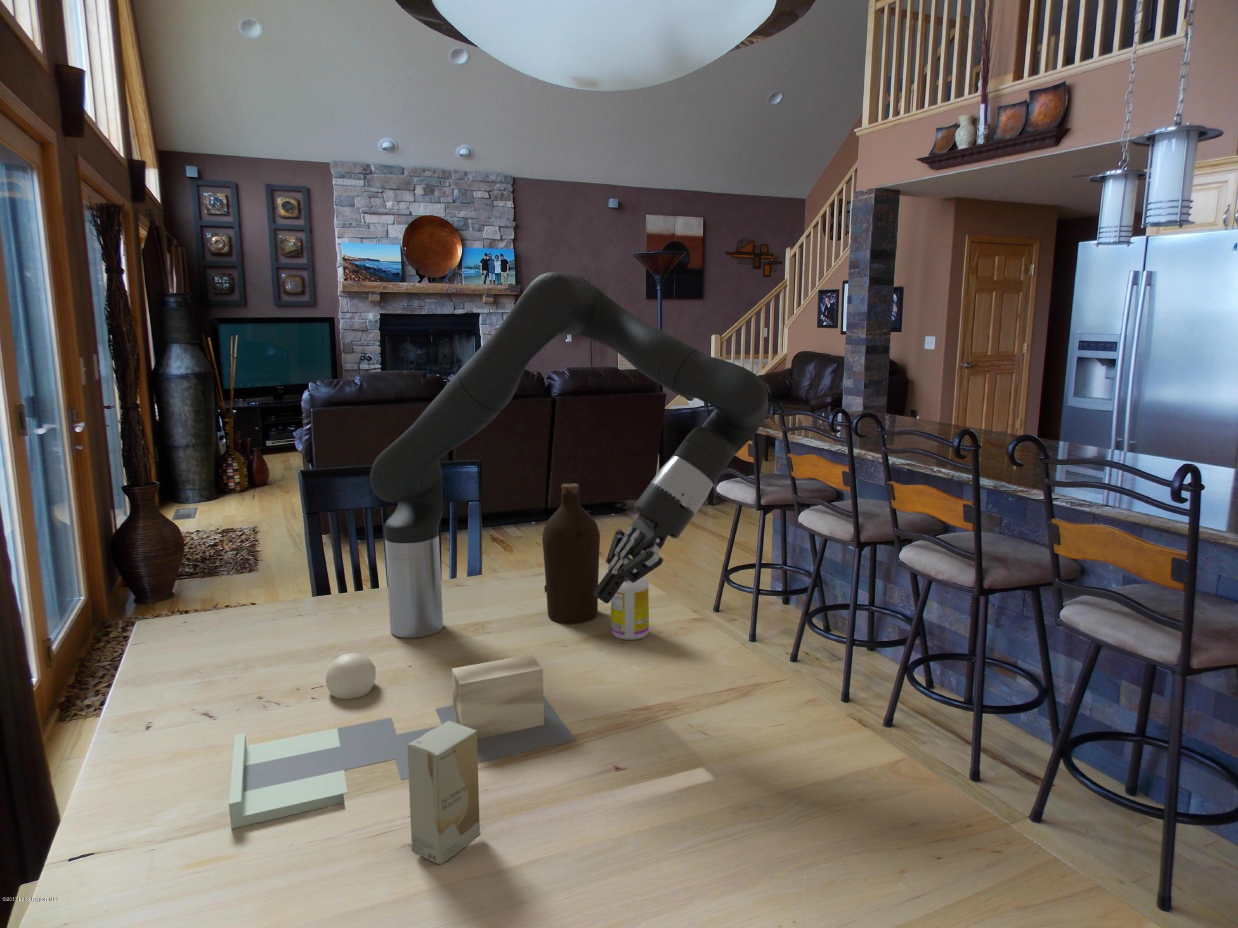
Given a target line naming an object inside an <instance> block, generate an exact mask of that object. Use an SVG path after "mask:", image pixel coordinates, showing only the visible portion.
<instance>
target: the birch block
mask: <svg viewBox="0 0 1238 928" xmlns="http://www.w3.org/2000/svg"><path fill="white" fill-rule="evenodd" d="M543 670H544V668H543V667H542V666H541V665H540V663H539V662H538V661H537V659H535V657H534V656H533V654H527V655H520V656H516V657H510V658H504V659H499V660H492V661H487V662H482V663H476V664H470V665H465V666H459V667H453V668H451V684H452V703H453V704H452V705H453V707H454V722H455V723H458V724H460V725H463V726H466V727H469V728H471V729H474V730H477V739H480V738H485V737H490V736H494V735H499V734H503V733H508V732H513V731H517V730H522V729H527V728H531V727H536V726H541V725H544V700H543V696H544V673H543V672H544V671H543Z"/></svg>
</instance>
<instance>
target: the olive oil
mask: <svg viewBox="0 0 1238 928" xmlns="http://www.w3.org/2000/svg"><path fill="white" fill-rule="evenodd" d="M579 488H580V484H578V483H575V482H574V483H573V482H571V483H569V482H566V483H563V484H561V492H560V497H561V505H560V506H559V507H558V508H557V509H556V511H555V512H553V514H552V515H551V516H550V518H549V519H547V521H546V522H545V524H544V527H543V530H542V531H543V532H542V535H541V536H542V538H541V539H542V551H543V563H544V574H545V575H544V576H545V577H544V579H545V585H544V593H545V594H546V607H547V608H546V609H547V616H548V618H549V619H550V620H552V621H554V622H556V623H561V624H580V623H581V624H582V623H586V622H590V621H592V620H593V619H595V618H596V617H597V616H598V614H599V613H598V609H599V608H598V607H599V605H598V604H599V601H598V600H599V598H597V597H596V596H595V595H594V590H595V589H596V587H597V586H598V585H599V570H600V567H599V566H600V550H601V549H600V546H601V545H600V544H601V543H600V542H601V534H600V529H599V526H598V524H597V522H596V520H595V519H594V518H593V517H592V515H591V514H589V513H588V512H587V510H586V509H584V508H583V506H582V505H581V503H580V502H581V501H580V500H581V499H580V491H579Z"/></svg>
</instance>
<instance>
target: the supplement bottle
mask: <svg viewBox="0 0 1238 928" xmlns="http://www.w3.org/2000/svg"><path fill="white" fill-rule="evenodd" d="M636 572H637V571H636ZM649 598H650V597H649V580H648V579H647V578H646V576H643V577H642V578H640V579H639V580H637V581H636V582H634V583H632V582H631V581H628V582H627V583H625V582H623V584H622V585H621V587H620V588H619V589H618V591H617V592H616V594H615V595H614V596H613V598H612V599H611V601H610V623H611V624H610V627H611V629H610V630H611V634H612V635H613V636H614V637H615V638H617V639H619V640H626V641H627V640H629V641H634V640H635V641H636V640H640V639H643V638H645V637H647V635H649V632H650V631H649V630H650V613H649V612H650V609H649V607H650V605H649Z"/></svg>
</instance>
